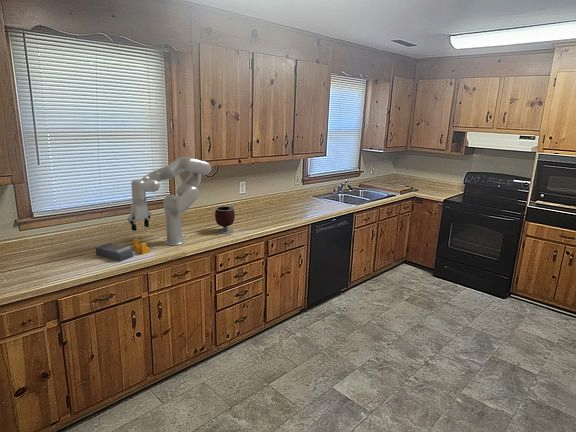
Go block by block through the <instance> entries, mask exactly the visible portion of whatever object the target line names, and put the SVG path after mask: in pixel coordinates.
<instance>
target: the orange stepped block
mask: <svg viewBox="0 0 576 432" xmlns="http://www.w3.org/2000/svg"><path fill="white" fill-rule="evenodd" d="M132 245H133V246H132V247H133V250H134V251H136V252H138V253H140V254H141V255H145V254H149V253H150V247H148V246H147V243H146V242H142V243H140V241H139V239H138V238H134V239H132Z"/></svg>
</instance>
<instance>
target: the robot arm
mask: <svg viewBox="0 0 576 432" xmlns="http://www.w3.org/2000/svg"><path fill="white" fill-rule="evenodd" d="M184 171H189V175H188V177H187V178H186V179H185V180H184V181H183V182H182V183H181V184H179V186H178V187H177V188H176V192H175V193H176V194H167V195H166V196H165V197H164V198H163V202H162V203H163V204H162V205H163V208H164V215H165V232H166V239H165V240H164V241H163V242H164V245H167V246H173V247H174V246H179V245H183V244H184V243H185V237H186V236H187V233H184V234H182V231H183V230H182V216H181V213H183V212H186V211H187V209H189V208H190V207H191V205H193V203H194V202H195V201H196V200H197V199H198V198H199V195H200V191H199V188H198V187H199V186H200V183H201V182H202V175H203V176H207V175H209V174H210V173H211V171H212V165H211V163H209V162H208V161H203V160H200V159H196V158H194V157H189V156H180V157H177V158H176V159H175V160H173V161H172V162H170V163H169V164H167V165H166V166H164V167H161V168H158V169H156V170H153V171H151V172H149V173H148V174H146V175H144V176H143V177H141V179H133V180H132V181H131V200H132V203H131V204H130V212H129V213H130V215H129V216H128V217H127V220H128V222H129V223H130V226H131V231H133V232H137V224H136V223H137V221H141V220H143V224H144V225H143V226H144V227H145V228H149V227H150V224H149V221H150V220H151V219H150V218H151V216H152V212H151V211H149V207H148V203H147V195H146V192H147V193H148V192H150V193H154V192H158V190H159V189H160V188H161V187H160V186H161V184H160V182H161V181H168V180H173V179H174V178H176V177H177V176H179V175H181V174H182V173H183V172H184Z"/></svg>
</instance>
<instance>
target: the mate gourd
mask: <svg viewBox="0 0 576 432" xmlns="http://www.w3.org/2000/svg"><path fill="white" fill-rule="evenodd" d="M235 205H237V203H234V204H232V205H229V206H227V205H223V206H217V207H215V210H214V211H215V212H214V218H215V223H216V224H217V225H218V226H220V227H221V228H218V229H217V230H216V233H217V234H221V235H230V234H233V233H234V231H235V229H233V228H229V227H230V226H232V225H233V223H234V222H235V216H236V214H235V213H236V212H235V208H234V207H235Z"/></svg>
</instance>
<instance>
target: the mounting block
mask: <svg viewBox="0 0 576 432" xmlns="http://www.w3.org/2000/svg"><path fill="white" fill-rule="evenodd" d="M94 250H95V255H96V256H97V257H101V258H106V259H109V260H112V261H116V262H119V263H121V262H124V261H125V260H129V259H131V258H134V253H133V250H134V249H133V248H131V246H130V245H128V246H122V245H119V244H114V243H112V241H107V242H105V243H101V244H98V245H97V246H95V249H94Z"/></svg>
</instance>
